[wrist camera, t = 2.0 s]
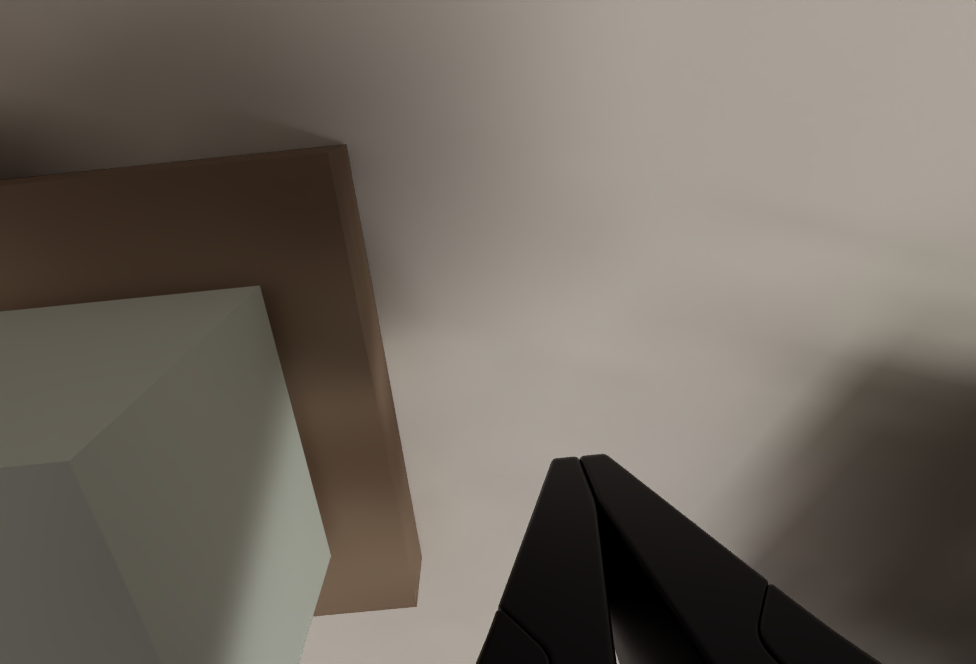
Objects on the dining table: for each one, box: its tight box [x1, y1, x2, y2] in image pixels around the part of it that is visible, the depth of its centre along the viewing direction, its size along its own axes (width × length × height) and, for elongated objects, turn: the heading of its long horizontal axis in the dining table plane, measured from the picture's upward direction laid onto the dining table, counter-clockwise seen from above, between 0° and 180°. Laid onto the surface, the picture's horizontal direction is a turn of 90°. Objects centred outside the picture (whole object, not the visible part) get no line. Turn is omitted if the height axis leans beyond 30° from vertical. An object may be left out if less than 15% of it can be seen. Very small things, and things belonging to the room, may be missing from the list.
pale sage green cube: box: [0, 286, 331, 664], centre depth 9 cm, size 6×5×5 cm
